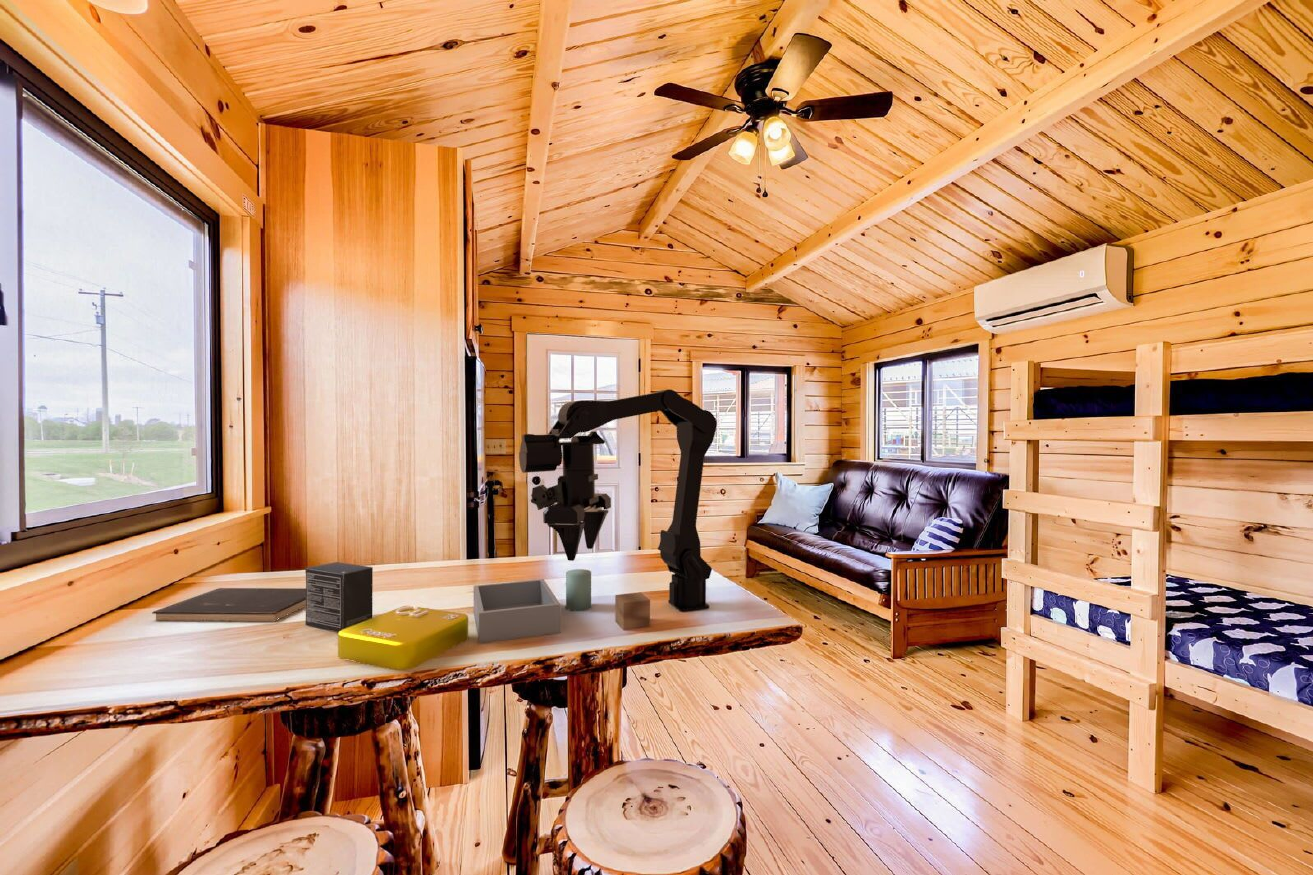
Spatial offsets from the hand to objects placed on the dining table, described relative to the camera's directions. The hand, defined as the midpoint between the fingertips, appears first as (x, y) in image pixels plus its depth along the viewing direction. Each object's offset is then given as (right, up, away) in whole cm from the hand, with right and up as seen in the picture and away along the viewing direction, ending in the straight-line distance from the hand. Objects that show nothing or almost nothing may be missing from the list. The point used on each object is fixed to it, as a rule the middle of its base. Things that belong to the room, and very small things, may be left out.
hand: (580, 554), depth 102 cm
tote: (-12, -13, +1) cm, 18 cm away
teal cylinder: (-2, -13, +9) cm, 16 cm away
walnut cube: (+9, -13, 0) cm, 16 cm away
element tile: (-27, -13, -11) cm, 32 cm away
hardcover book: (-68, -13, +9) cm, 70 cm away
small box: (-44, -13, -1) cm, 46 cm away
